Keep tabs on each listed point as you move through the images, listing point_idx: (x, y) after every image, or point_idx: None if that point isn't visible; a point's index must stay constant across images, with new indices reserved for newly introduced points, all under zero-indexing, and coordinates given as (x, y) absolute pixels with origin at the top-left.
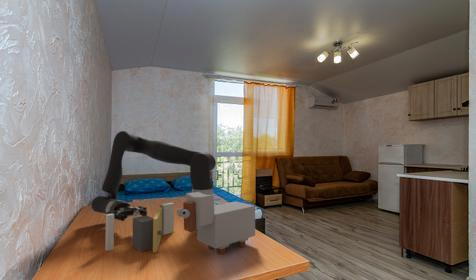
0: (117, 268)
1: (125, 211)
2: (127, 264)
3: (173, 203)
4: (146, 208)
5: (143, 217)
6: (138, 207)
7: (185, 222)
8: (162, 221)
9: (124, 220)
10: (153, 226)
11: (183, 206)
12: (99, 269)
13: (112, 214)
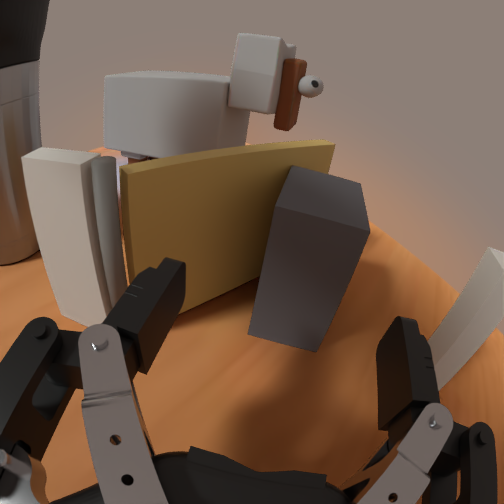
0: (410, 273)
1: (307, 473)
2: (386, 268)
3: (43, 148)
4: (41, 324)
5: (316, 199)
6: (9, 455)
7: (295, 110)
8: (104, 271)
9: (377, 347)
10: (327, 170)
11: (299, 72)
12: (444, 299)
13: (497, 253)
